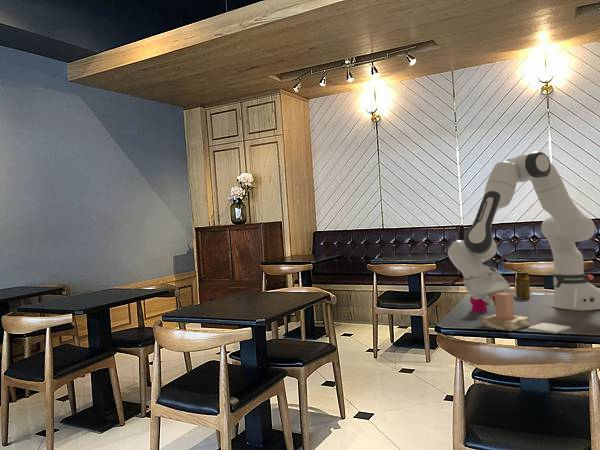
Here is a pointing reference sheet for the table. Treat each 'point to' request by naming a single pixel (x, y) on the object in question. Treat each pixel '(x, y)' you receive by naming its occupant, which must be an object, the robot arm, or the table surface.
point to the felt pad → (549, 327)
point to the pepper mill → (478, 305)
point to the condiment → (522, 285)
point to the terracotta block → (504, 306)
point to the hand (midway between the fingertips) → (501, 303)
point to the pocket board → (505, 322)
